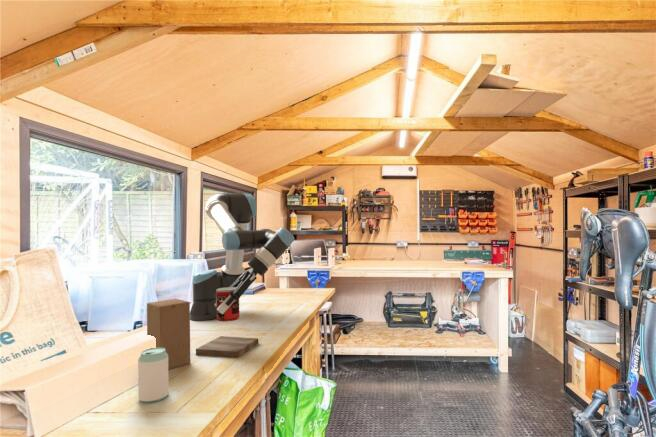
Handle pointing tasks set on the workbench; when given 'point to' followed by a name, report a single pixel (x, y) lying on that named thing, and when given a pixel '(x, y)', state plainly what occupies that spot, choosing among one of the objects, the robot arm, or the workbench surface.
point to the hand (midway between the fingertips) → (218, 309)
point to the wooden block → (171, 329)
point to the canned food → (233, 310)
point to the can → (153, 375)
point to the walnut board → (227, 346)
